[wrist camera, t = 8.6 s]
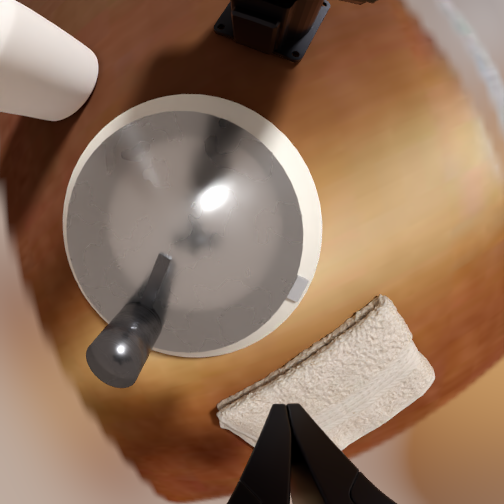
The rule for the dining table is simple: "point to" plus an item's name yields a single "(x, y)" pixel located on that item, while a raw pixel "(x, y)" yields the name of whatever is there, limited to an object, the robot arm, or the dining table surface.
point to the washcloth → (340, 379)
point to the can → (41, 66)
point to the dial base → (283, 154)
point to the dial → (181, 238)
